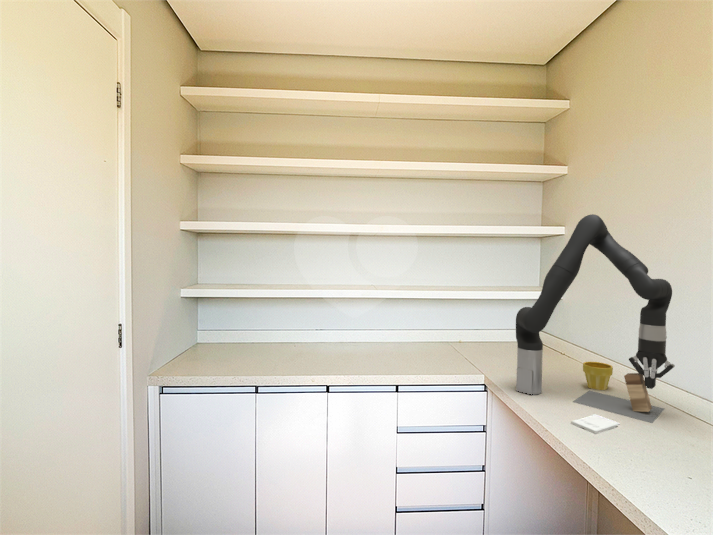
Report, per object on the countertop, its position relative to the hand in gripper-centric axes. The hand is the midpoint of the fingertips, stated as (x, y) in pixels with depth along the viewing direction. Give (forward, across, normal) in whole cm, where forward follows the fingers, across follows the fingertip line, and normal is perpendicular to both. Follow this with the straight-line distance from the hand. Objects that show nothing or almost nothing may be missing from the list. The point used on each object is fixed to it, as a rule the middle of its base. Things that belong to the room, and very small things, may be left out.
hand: (649, 388), depth 135 cm
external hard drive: (+10, -9, -22) cm, 26 cm away
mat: (+9, -9, 0) cm, 13 cm away
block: (+8, -2, 0) cm, 8 cm away
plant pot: (+10, -21, +16) cm, 28 cm away
